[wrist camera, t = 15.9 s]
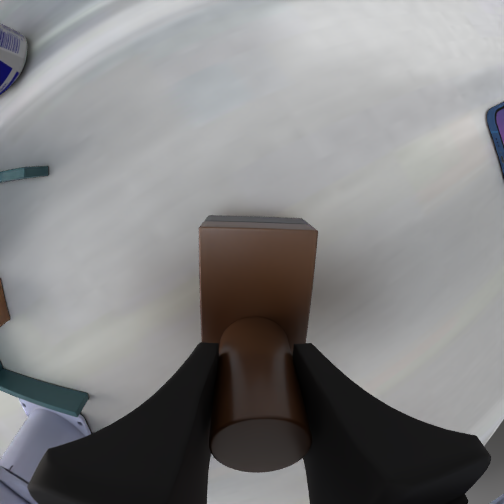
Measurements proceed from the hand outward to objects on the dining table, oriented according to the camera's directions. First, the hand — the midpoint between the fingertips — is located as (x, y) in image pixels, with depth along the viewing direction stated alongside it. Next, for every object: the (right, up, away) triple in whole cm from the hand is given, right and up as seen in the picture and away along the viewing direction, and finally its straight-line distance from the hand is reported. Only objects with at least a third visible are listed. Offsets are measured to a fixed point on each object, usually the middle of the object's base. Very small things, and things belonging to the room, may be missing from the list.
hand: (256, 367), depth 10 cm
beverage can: (-18, +17, +3) cm, 25 cm away
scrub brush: (0, +1, +4) cm, 4 cm away
